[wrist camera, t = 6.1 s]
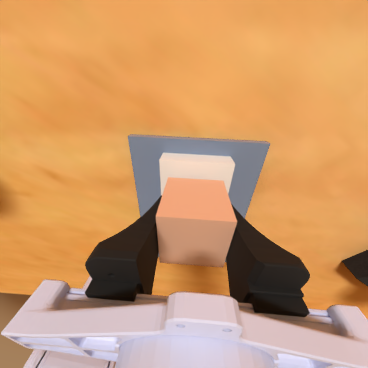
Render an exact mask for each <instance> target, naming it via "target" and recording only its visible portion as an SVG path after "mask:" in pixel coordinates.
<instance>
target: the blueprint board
mask: <svg viewBox="0 0 368 368" xmlns="http://www.w3.org/2000/svg"><path fill="white" fill-rule="evenodd" d="M128 140H129V146H130V153H131V159H132V165H133V172H134V178H135V184H136V190H137V197H138V203H139V209H140V216H141V217H142V216H143V215H144V214H145V213H146V212H147V211H148V210H149V209H150V208H151V207H152V206H153V204H154V203H155V202H156V201H157V200H158V198H159V197H160V196H161V195H163V192H164V188H165V185H166V182H167V179H168V177H172V178H189V179H205V180H222V181H224V184H225V187H226V190H227V193H228V196H229V199H230V202H231V204H232V205H233V206H234V207H235V208H236V210H237V211H238V212H239V213H240V214H241V215H242V216H243V218H244V219H245V216H246V213H247V210H248V207H249V204H250V201H251V198H252V195H253V192H254V190H255V187H256V184H257V181H258V178H259V175H260V172H261V169H262V166H263V163H264V160H265V157H266V155H267V152H268V149H269V146H270V143H268V142H267V141H248V140H229V139H209V138H190V137H171V136H152V135H133V134H131V135H129V136H128ZM158 257H159V253H158ZM225 262H226V259H225Z"/></svg>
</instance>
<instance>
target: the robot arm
mask: <svg viewBox="0 0 368 368" xmlns="http://www.w3.org/2000/svg"><path fill="white" fill-rule="evenodd" d="M161 198H162V195H161V196H160V197H159V198H158V200H157V201H156V202H155V203H154V204H153V206H152V207H151V208H150V209H149V210H148V211H147V212H146V213H145V214H144V215H143V216H142V217H140V218H139V219H138V220H137V221H136V222H134V223H133V224H132V225H130V226H129V227H127V228H126V229H124V230H123V231H121V232H119V233H117V234H116V235H114V236H112V237H110V238H108V239H106V240H104V241H102V242H100V243H99V244H98V245H97V246H96V247H95V249H94V250H93V252H92V253H91V255H90V256H89V258H88V259H87V261H86V264H85V266H86V269H87V271H88V273H89V274H90V276H89V278H88V280H87V281H86V283H85V285H84V286H83V288H82V289H79V288H70V287H69V285H68V283H66V282H64V281H60V280H49V279H45V280H44V281H43V282H42V283H41V284H40V286H39V287H38V288H37V289H36V290H35V292H34V293H33V294H32V295H31V297H30V298H29V299H28V301H27V302H26V303H25V304H24V305H23V306H22V308H21V309H20V310H19V312H18V313H17V314H16V315H15V316H14V318H13V319H12V320H11V321H10V322H9V324H8V325H7V326H6V327H5V329H4V330H3V331H2V332H1V334H2V335H3V336H5V337H7V338H9V339H11V340H13V341H15V342H16V343H18V344H20V345H22V346H24V347H26V348H30V349H34V351H33V352H32V354H31V356H30V357H29V359H28V360H27V362H26V363H25V365H24V367H23V368H368V320H367V318H366V317H365V316H364V315H363V313H362V312H361V311H360V309H359V308H358V307H356V306H349V305H332V306H330V307H329V308H328V309H327V310H318V309H308V308H307V306H306V304H305V302H304V301H303V299H302V297H304V294H303V293H302V291H301V288H302V287H303V286H304V285H305V284H306V283H307V281H308V280H309V278H310V274H309V272H308V270H307V269H306V267H305V266H304V264H303V262H302V261H301V260H300V258H299V257H297V256H295V255H293V254H291V253H290V252H288V251H286V250H284V249H283V248H281V247H280V246H278V245H276V244H275V243H273V242H272V241H270V240H269V239H268V238H266V237H265V236H264V235H262V234H261V233H260V232H259V231H257V230H256V229H255V228H254V227H253V226H252V225H251V224H249V223H248V222H247V221H246V220H245V219H244V218H243V216H242V215H241V214H240V213H239V212H238V211H237V210H236V208H235V207H234V206H233V205H232V204H231V205H232V208H233V211H234V214H235V217H236V220H237V225H236V228H235V231H234V234H233V237H232V240H231V243H230V247H229V250H228V253H227V256H226V262H227V270H228V279H229V289H230V296H227V295H220V294H209V293H197V292H186V291H182V292H175V293H172V294H170V295H169V296H158V295H151V294H152V288H153V281H154V275H155V269H156V264H157V258H158V253H159V248H158V237H157V226H156V214H157V211H158V207H159V204H160V201H161Z"/></svg>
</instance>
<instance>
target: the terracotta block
mask: <svg viewBox="0 0 368 368" xmlns="http://www.w3.org/2000/svg"><path fill="white" fill-rule="evenodd" d="M236 225H237V220H236V217H235V214H234V211H233V208H232V205H231V202H230V199H229V196H228V193H227V190H226V187H225V184H224V181H222V180H205V179H189V178H172V177H168V179H167V182H166V185H165V188H164V192H163V195H162V198H161V201H160V204H159V207H158V211H157V214H156V226H157V237H158V248H159V259H160V262H161V263H174V264H186V265H199V266H211V267H223V265H224V262H225V259H226V256H227V253H228V250H229V247H230V243H231V240H232V237H233V234H234V231H235V228H236Z"/></svg>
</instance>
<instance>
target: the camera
mask: <svg viewBox="0 0 368 368" xmlns="http://www.w3.org/2000/svg"><path fill="white" fill-rule="evenodd" d="M342 262H343V263H344V264H345V265H346V267H347V268H348V269H349V270H350V271H351V272H352V274H353V275H354V276H355V277H356V278H357V279H358V280H360V281H361V282H362V283H364V284H365V285H367V286H368V250H366V251H364V252H361V253H359V254H357V255H354V256H352V257H350V258H347V259H345V260H343V261H342Z"/></svg>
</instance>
